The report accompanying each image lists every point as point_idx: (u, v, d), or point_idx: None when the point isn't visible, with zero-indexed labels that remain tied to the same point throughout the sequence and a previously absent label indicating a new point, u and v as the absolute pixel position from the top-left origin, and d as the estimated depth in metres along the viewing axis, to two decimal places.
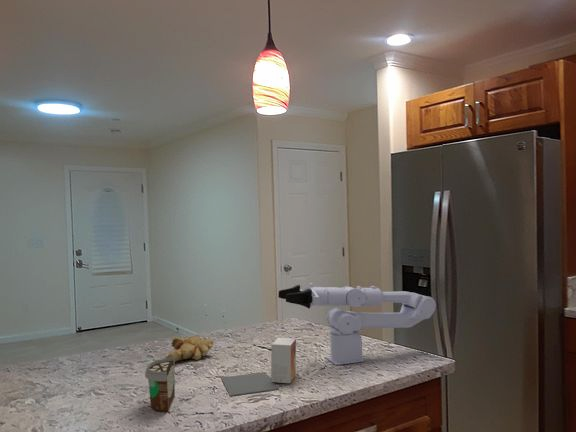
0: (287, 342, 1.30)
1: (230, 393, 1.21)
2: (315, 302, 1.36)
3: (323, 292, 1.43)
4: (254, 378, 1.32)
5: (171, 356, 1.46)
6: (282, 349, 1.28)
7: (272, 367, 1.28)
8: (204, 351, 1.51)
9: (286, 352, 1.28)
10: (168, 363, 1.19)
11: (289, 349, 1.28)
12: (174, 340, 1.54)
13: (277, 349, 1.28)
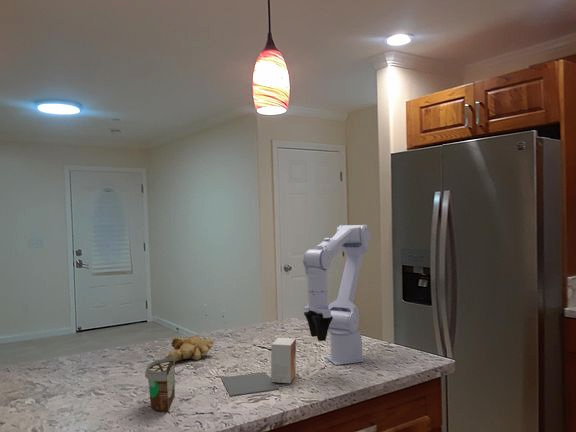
0: (287, 342, 1.31)
1: (230, 393, 1.21)
2: (329, 315, 1.28)
3: (315, 297, 1.32)
4: (254, 378, 1.32)
5: (171, 356, 1.46)
6: (282, 349, 1.28)
7: (272, 367, 1.28)
8: (204, 351, 1.51)
9: (286, 352, 1.28)
10: (168, 363, 1.19)
11: (289, 349, 1.28)
12: (174, 340, 1.54)
13: (277, 349, 1.28)
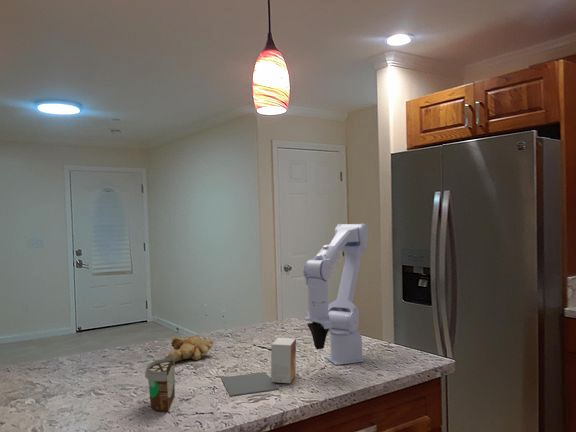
0: (287, 342, 1.31)
1: (230, 393, 1.21)
2: (330, 326, 1.28)
3: (316, 307, 1.32)
4: (254, 378, 1.32)
5: (171, 356, 1.46)
6: (282, 349, 1.28)
7: (272, 367, 1.28)
8: (204, 351, 1.51)
9: (286, 352, 1.28)
10: (168, 363, 1.19)
11: (289, 349, 1.28)
12: (174, 340, 1.54)
13: (277, 349, 1.28)
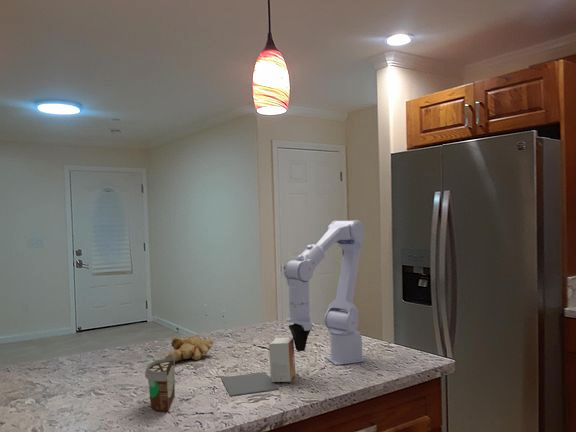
0: (285, 340, 1.31)
1: (230, 393, 1.21)
2: (310, 327, 1.26)
3: (296, 309, 1.30)
4: (254, 378, 1.32)
5: (171, 356, 1.46)
6: (280, 348, 1.28)
7: (271, 367, 1.28)
8: (204, 351, 1.51)
9: (284, 350, 1.28)
10: (168, 363, 1.19)
11: (287, 347, 1.28)
12: (174, 340, 1.54)
13: (275, 348, 1.29)
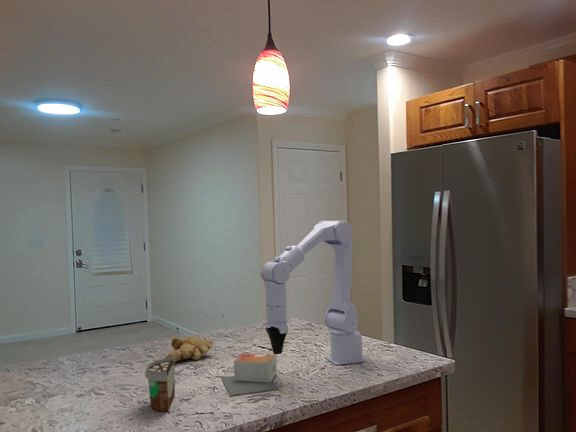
0: None
1: (230, 393, 1.21)
2: (286, 330, 1.24)
3: (273, 311, 1.28)
4: None
5: (171, 356, 1.46)
6: (238, 369, 1.30)
7: (256, 380, 1.29)
8: (204, 351, 1.51)
9: (240, 365, 1.30)
10: (168, 363, 1.19)
11: (237, 362, 1.30)
12: (174, 340, 1.54)
13: (238, 374, 1.30)
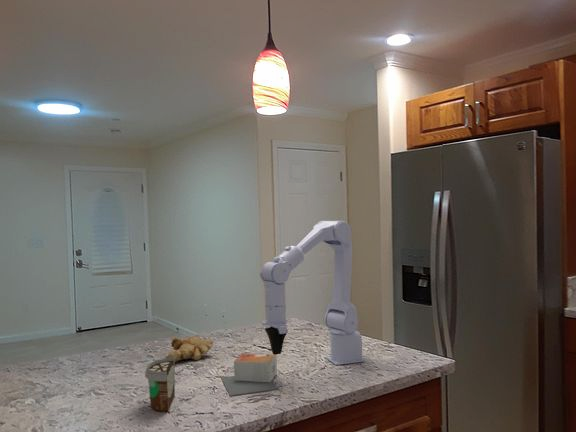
0: None
1: (230, 393, 1.21)
2: (285, 331, 1.24)
3: (272, 311, 1.28)
4: None
5: (171, 356, 1.46)
6: (238, 369, 1.30)
7: (256, 380, 1.29)
8: (204, 351, 1.51)
9: (240, 365, 1.30)
10: (168, 363, 1.19)
11: (237, 362, 1.30)
12: (174, 340, 1.54)
13: (238, 374, 1.30)
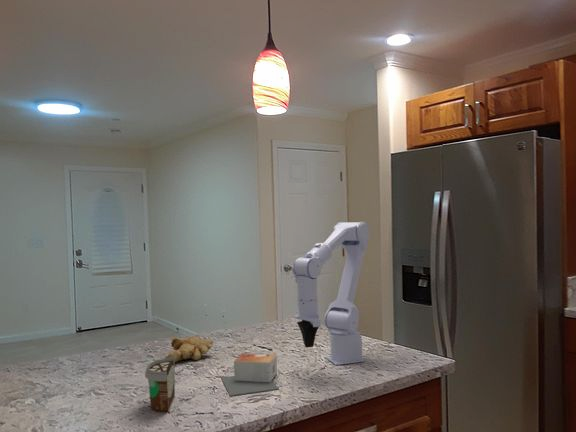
0: None
1: (230, 393, 1.21)
2: (319, 324, 1.28)
3: (305, 305, 1.32)
4: None
5: (171, 356, 1.45)
6: (238, 369, 1.30)
7: (256, 380, 1.29)
8: (204, 351, 1.51)
9: (240, 365, 1.30)
10: (168, 363, 1.19)
11: (237, 362, 1.30)
12: (173, 340, 1.54)
13: (238, 374, 1.30)
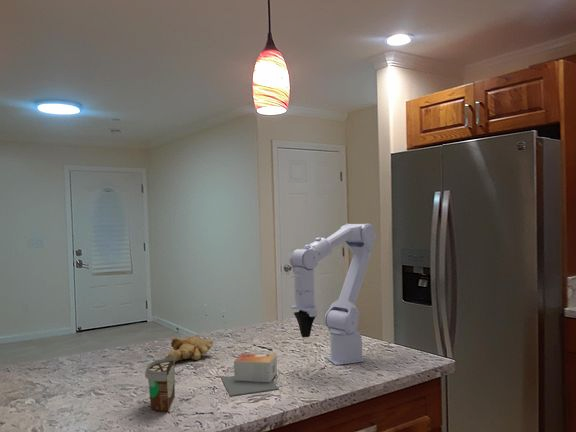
0: None
1: (230, 393, 1.21)
2: (315, 314, 1.30)
3: (302, 296, 1.34)
4: None
5: (171, 356, 1.45)
6: (238, 369, 1.30)
7: (256, 380, 1.29)
8: (203, 351, 1.51)
9: (240, 365, 1.30)
10: (168, 363, 1.19)
11: (237, 362, 1.30)
12: (173, 340, 1.54)
13: (238, 374, 1.30)
